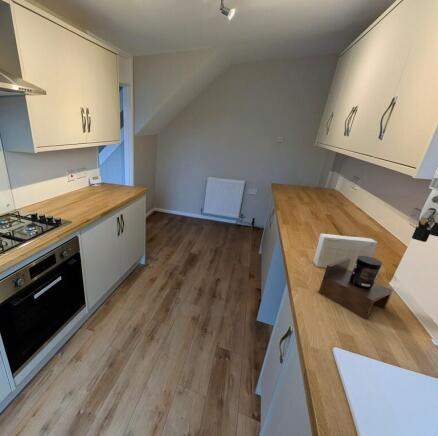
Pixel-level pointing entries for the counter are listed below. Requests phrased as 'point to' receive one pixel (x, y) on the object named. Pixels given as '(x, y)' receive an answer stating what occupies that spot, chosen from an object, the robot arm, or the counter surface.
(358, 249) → the skincare box
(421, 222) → the robot arm
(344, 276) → the shelf
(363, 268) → the supplement container
